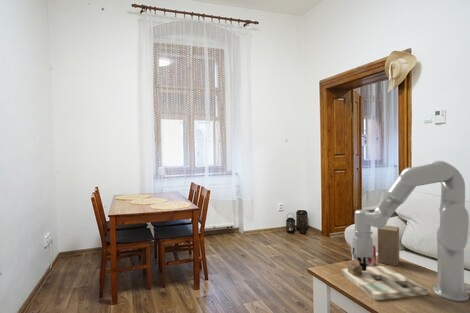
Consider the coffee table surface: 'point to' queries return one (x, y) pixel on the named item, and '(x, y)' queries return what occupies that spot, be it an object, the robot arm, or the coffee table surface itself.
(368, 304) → the coffee table surface
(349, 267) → the walnut block
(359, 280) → the board
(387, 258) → the wooden block
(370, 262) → the soda can
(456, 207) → the robot arm
